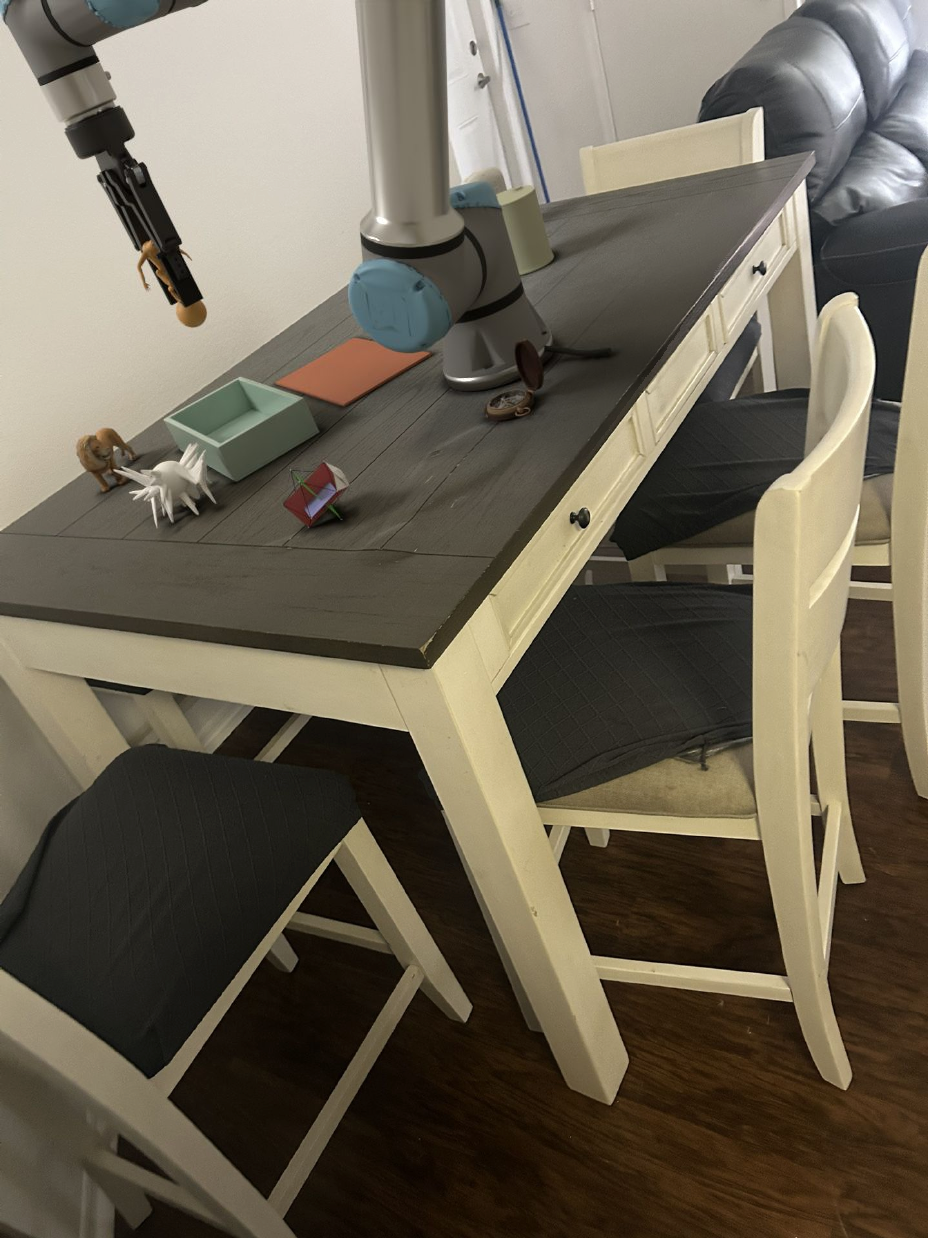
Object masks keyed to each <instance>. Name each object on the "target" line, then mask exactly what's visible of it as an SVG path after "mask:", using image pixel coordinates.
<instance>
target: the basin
mask: <svg viewBox="0 0 928 1238" xmlns="http://www.w3.org/2000/svg"><path fill="white" fill-rule="evenodd" d="M163 421H164V424H165V425H166V427H167V429H168V431H169V433H170V434H171V436H172V437H173V438H172V439H174V441H175V443H176V445H177V446H178V449H179V451H181V452H183V453H185V451H186V449H187V447H188V446H189V444H191V447H192V446H193V445H195V444H196V443H197V444H198V445H199V447H198V450H197V452H199V453H198V456H197V459H199V458H200V456H201V454H202V453H203V451H204V450H205V449H206V452H205V457H206V465H207V467H209V468H211V469H213V470H215V471H216V472H218V473H219V474H221V475H223V476H225V477H226V478H229V479H230V480H232V481H234V482H236V483H237V482H239V481H241V480H242V479H244V478H245V477H247V476H249V475H251V474H252V473H254V472H256V471H257V470H259V469H261V468H262V467H265V466H266V465H268V464H269V463H271V462H273V461H275V460H276V459H277V458H279V457H280V456H282V455H285V454H286V453H287V452H289V451H291V450H293V449H294V448H296V447H298V446H299V445H301V444H302V443H304V442H306V441H307V440H309V439H311V438H312V437H314V436H316V435H317V434H319V433H320V429H319V428H318V426H317V423H316V421H315V419H314V417H313V415H312V413H311V410H310V408H309V406H308V404H307V401H306V399H305V397H302V396H300V395H296V394H294V393H290V392H288V391H284V390H281V389H279V388H277V387H276V388H275V387H273V386H269V385H267V384H264V383H260V382H258V381H255V380H252V379H249V378H245V377H243V376H239V377H237V378H235V379H233V380H231V381H229V382H228V383H226V384H224V385H222V386H221V387H218V388H216V389H215V390H213V391H212V392H210V393H208V394H206V395H205V396H203V397H201V398H199V399H197V400H196V401H194V402H192V403H190V404H188V405H186V406H185V407H183V408H181V409H179V410H178V411H176V412H174V413H172V414H170V415H168V416H167V417H165V418H163Z"/></svg>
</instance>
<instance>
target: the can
mask: <svg viewBox="0 0 928 1238" xmlns="http://www.w3.org/2000/svg"><path fill="white" fill-rule="evenodd" d="M496 196H497V199H498V202H499V204H500V205H501V206H502V209H503V210H502V213H503V217H504V221H505V224H506V228H507V231H508V235H509V238H510V242H511V246H512V249H513V253H514V256H515V260H516V263H517V267H518V270H519V274H520V276H524V275H526V274H527V275H528V274H530V273H533V272H535V271H538V270H540V269H542V268H544V267H545V266H547V265H548V264H550V263H551V262H552V261H553V260H554V257H555V255H554V253H553V251H552V247H551V244H550V241H549V240H550V239H549V237H548V233H547V230H546V226H545V222H544V217H543V213H542V210H541V207H540V203H539V198H538V194H537V189H536V186H535V185H534V184H525V185H520V186H515V187H512V188H509V189H507V190H506V191H503V192H501V193H498V194H496Z"/></svg>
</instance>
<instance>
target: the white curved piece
mask: <svg viewBox="0 0 928 1238" xmlns="http://www.w3.org/2000/svg"><path fill="white" fill-rule="evenodd" d="M479 181H484V182H487V183H489V184H491V185H492V187H493V188H494V190H495V193H496V194H498V193H501V192H503V191H506V190H508V189H507V188H508V187H507V184H506V180H505V177H504V175H503V173H502V171H501V169H499V167H496V166H489V167H483V168H480V169H478V170H476V171H474V172H471V173H470V174H469V175H468V176H467V177H465V178H464V179H463V180H462V181H461V182H460V184H459V185H458V186H460V185H464V184H468V183H473V182H479Z"/></svg>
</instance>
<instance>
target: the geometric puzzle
mask: <svg viewBox="0 0 928 1238" xmlns="http://www.w3.org/2000/svg"><path fill="white" fill-rule="evenodd" d="M316 464H318V462H317V463H316V462H315V465H316ZM313 465H314V463H312V464H311V466H313ZM300 468H303V466H302V467H301V466H300ZM297 469H298V470H297ZM289 472H290V475H289V476H288V478H290V476H291V479H292V483H293V490H292V492H291V493H290V494H289V496H288V497H287V499H286V500H284V501H283V502H282V504H281V505H282V507H284V508H285V509H286V510H288V511H289V512H290V513H291V514H292V515H294V516H295V517H296V518H297V519H298V520H300V521H301V522H302V523H303V524H304V525H305V526H306V527H307V528H308V529H310V528H312V527H314V524H315V523H317V521H318V520H320V519H321V518H322V517H323V516H324V515H325V514H326V513H327V512H329V511H330V510H331V511H332V512H333V514H335V515H336V516H337V517H338V518H336V519H335V522H337V521H343V517H344V516H343V515H339V513H340V514H342V512H343V513H344V510H343V511H342V512H341V509H339V513H338V512H337V511H336V509H335V508H334V506H335V505H336V502H340V498H341V497H342V495H344V493H345V491H346V490H348V489H349V487H350V486H351V484H350V483H349V482H348V479H347V477H346V475H345V474H344V472H343V471H342V469H340V468H339V467H337V466H334V465H332V464H330V463H328V462H327V461H325V460H323V461H321V462H319V465H318V466H317V467H314V469H313V470H311V471H310V470H304V472H308V474H307V475H305V477H304V478H301V477H299V476H298V475H297V474H296V473H295V472H300V470H299V467H297V468H296V469H295V468H294V469H289ZM309 475H310V476H309ZM293 476H294V477H295V479H296V480H297V481H298V483H297V485H296V486H295V480H294V477H293ZM308 476H309V477H308ZM307 477H308V478H307ZM304 479H306V480H305V481H304ZM289 480H290V479H288V480H287V482H289ZM286 485H287V486H288V485H289V483H287V484H286ZM299 485H300V486H299ZM298 486H299V487H298ZM297 487H298V488H297ZM287 489H288V488H286V489H285V491H287ZM296 489H297V490H296ZM284 493H285V495H286V492H284ZM347 495H348V492H347ZM285 498H286V496H284V498H283V499H285ZM347 499H348V498H347V497H346V499H345V500H347ZM346 503H347V501H345V503H344V504H346ZM338 507H339V508H341V505H340V503H338ZM343 509H345V506H344V507H343ZM329 523H330V521H329V522H327V524H329ZM331 523H334V521H333V520H332V521H331ZM325 524H326V522H324V523H323V525H325ZM320 525H322V524H319V526H320ZM315 526H316V527H317V526H318V524H316V525H315Z"/></svg>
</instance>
